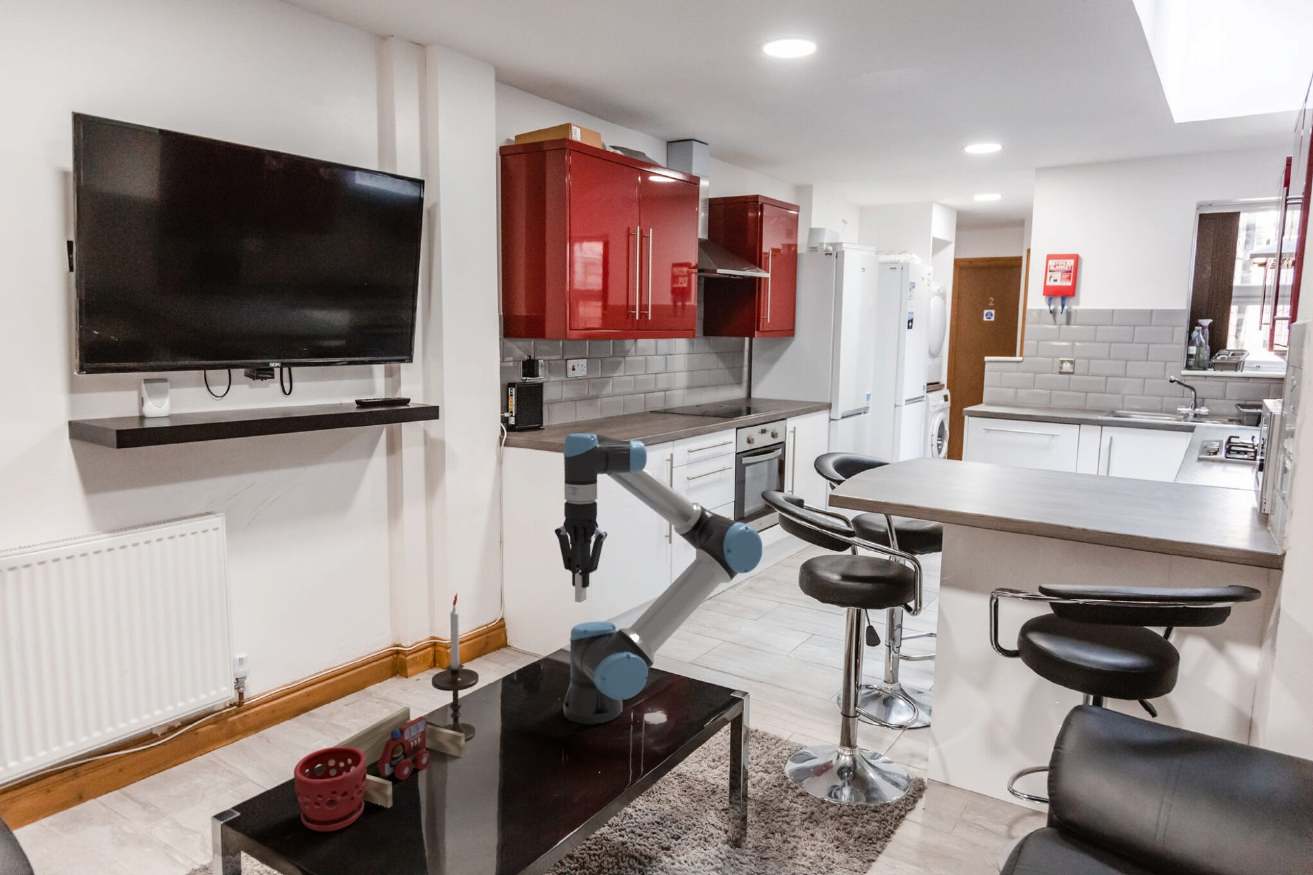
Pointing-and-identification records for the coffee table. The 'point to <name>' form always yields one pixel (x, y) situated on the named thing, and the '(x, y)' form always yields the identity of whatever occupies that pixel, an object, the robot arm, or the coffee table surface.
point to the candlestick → (456, 679)
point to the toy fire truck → (405, 750)
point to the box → (374, 744)
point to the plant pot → (331, 788)
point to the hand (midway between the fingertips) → (580, 600)
